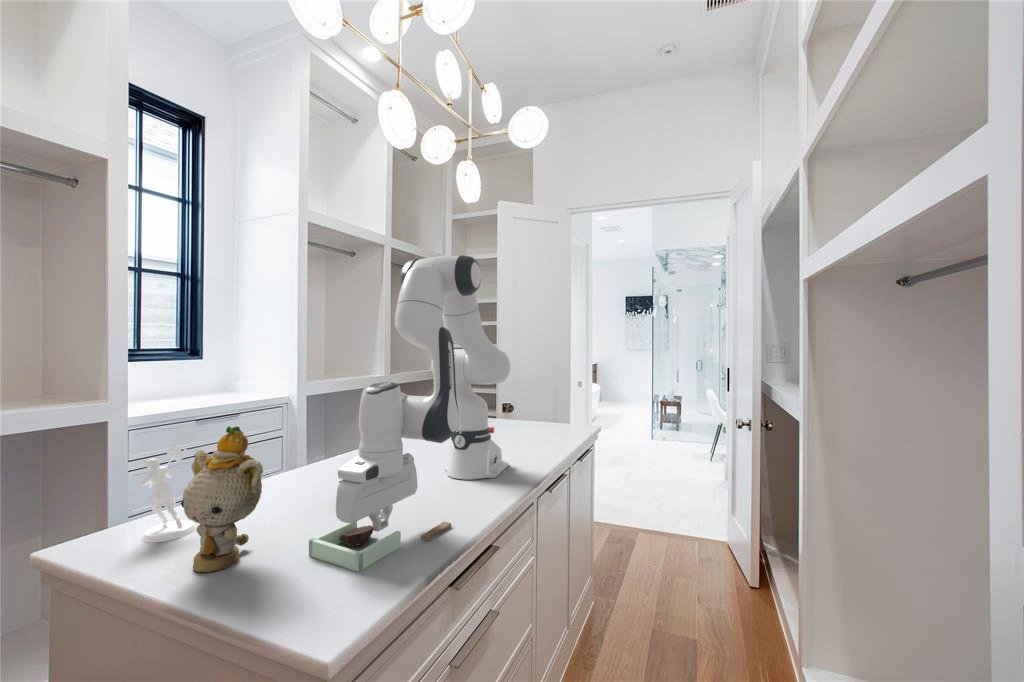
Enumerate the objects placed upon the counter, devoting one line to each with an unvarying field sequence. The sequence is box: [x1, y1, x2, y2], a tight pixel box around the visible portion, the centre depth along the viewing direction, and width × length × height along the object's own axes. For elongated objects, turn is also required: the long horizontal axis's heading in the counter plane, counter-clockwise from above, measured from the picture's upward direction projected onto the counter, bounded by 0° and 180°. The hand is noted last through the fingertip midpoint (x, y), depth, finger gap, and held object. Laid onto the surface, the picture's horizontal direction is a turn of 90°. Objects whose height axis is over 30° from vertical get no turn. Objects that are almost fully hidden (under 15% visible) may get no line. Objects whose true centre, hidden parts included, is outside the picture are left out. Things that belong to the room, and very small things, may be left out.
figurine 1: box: [137, 443, 197, 544], centre depth 94 cm, size 10×10×18 cm
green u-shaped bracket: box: [308, 521, 402, 573], centre depth 86 cm, size 11×13×3 cm
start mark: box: [420, 521, 452, 542], centre depth 94 cm, size 8×2×1 cm, turn 153°
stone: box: [340, 525, 374, 548], centre depth 89 cm, size 7×7×3 cm
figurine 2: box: [180, 426, 264, 573], centre depth 81 cm, size 11×18×25 cm, turn 61°
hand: (380, 528), depth 91 cm, fingers closed
